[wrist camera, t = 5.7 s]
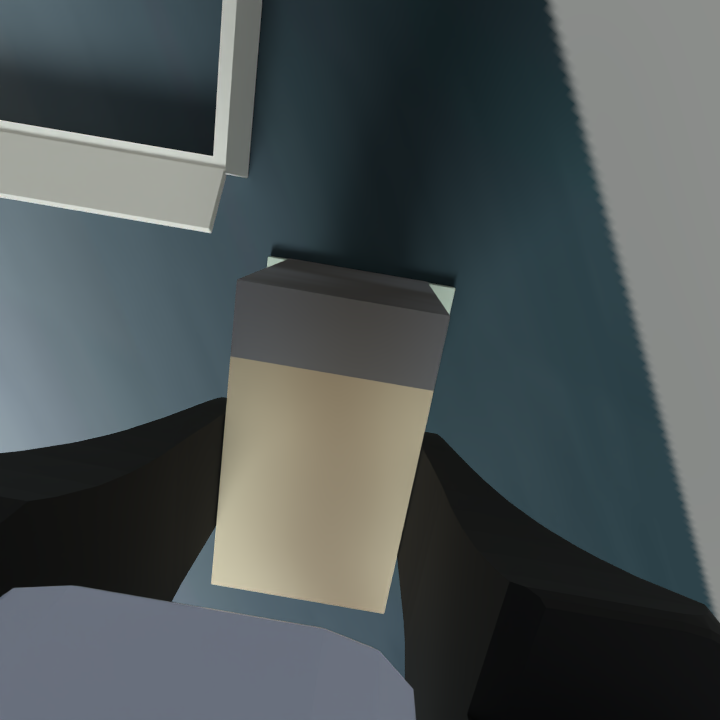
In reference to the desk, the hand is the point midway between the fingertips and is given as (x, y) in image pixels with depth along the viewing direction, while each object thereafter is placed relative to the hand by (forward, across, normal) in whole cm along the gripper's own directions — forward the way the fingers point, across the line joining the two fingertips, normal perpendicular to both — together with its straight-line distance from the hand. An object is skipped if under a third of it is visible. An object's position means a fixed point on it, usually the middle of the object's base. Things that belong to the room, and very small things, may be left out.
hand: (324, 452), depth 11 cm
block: (+3, 0, 0) cm, 3 cm away
